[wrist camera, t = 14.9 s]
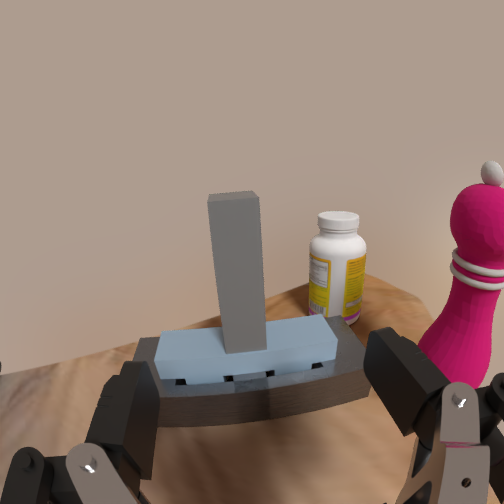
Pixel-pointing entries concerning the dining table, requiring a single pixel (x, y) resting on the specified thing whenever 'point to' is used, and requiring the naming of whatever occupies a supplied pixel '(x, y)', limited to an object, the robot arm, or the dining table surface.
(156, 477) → the dining table surface
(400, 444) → the dining table surface
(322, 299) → the supplement bottle
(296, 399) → the dark grey rectangular block
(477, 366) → the pepper mill
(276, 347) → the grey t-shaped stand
